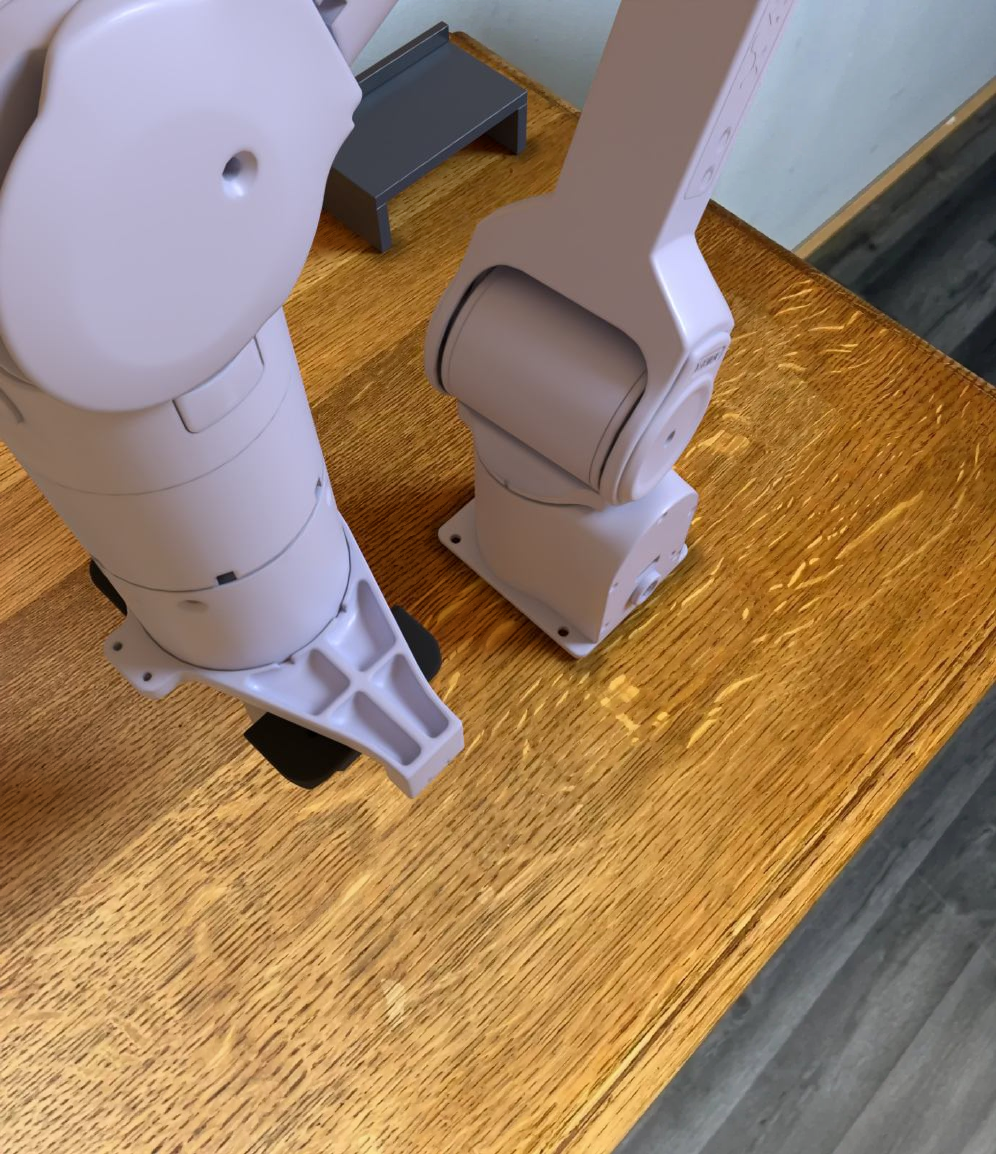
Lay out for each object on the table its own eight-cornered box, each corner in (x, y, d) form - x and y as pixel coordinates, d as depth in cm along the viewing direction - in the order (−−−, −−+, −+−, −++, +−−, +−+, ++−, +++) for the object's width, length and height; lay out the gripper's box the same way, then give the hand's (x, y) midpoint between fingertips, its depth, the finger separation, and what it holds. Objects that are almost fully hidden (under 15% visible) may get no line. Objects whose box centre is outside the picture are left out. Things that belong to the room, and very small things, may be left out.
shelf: (526, 148, 61) (528, 75, 57) (382, 253, 57) (372, 183, 53) (445, 95, 64) (441, 19, 59) (302, 192, 60) (286, 120, 55)
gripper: (-132, 405, 24) (80, 637, 36) (274, 830, 19) (360, 931, 31) (112, 244, 26) (234, 513, 38) (525, 589, 22) (514, 770, 34)
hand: (301, 692), depth 35 cm, fingers closed on fossil, 5 cm apart
